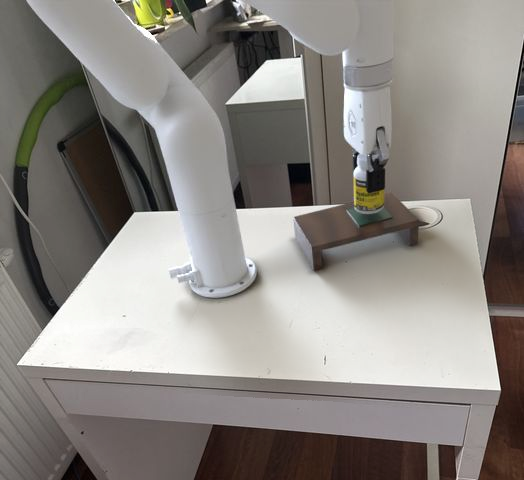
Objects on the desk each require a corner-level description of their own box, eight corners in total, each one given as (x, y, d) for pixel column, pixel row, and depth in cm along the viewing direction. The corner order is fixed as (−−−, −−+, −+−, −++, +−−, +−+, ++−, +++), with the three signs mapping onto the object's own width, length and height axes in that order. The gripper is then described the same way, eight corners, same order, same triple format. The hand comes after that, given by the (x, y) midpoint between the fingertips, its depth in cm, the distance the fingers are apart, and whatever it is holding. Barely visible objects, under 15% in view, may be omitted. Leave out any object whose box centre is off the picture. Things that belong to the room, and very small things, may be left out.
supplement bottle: (351, 214, 95) (349, 162, 88) (357, 200, 98) (356, 149, 92) (381, 215, 93) (382, 162, 86) (386, 201, 97) (387, 148, 90)
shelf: (313, 270, 94) (311, 246, 91) (295, 239, 103) (292, 215, 100) (417, 244, 96) (419, 218, 92) (390, 215, 105) (391, 191, 101)
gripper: (327, 65, 86) (332, 170, 98) (365, 93, 74) (366, 209, 86) (369, 55, 87) (370, 161, 99) (415, 81, 74) (409, 199, 86)
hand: (368, 182), depth 92 cm, fingers closed on supplement bottle, 5 cm apart
